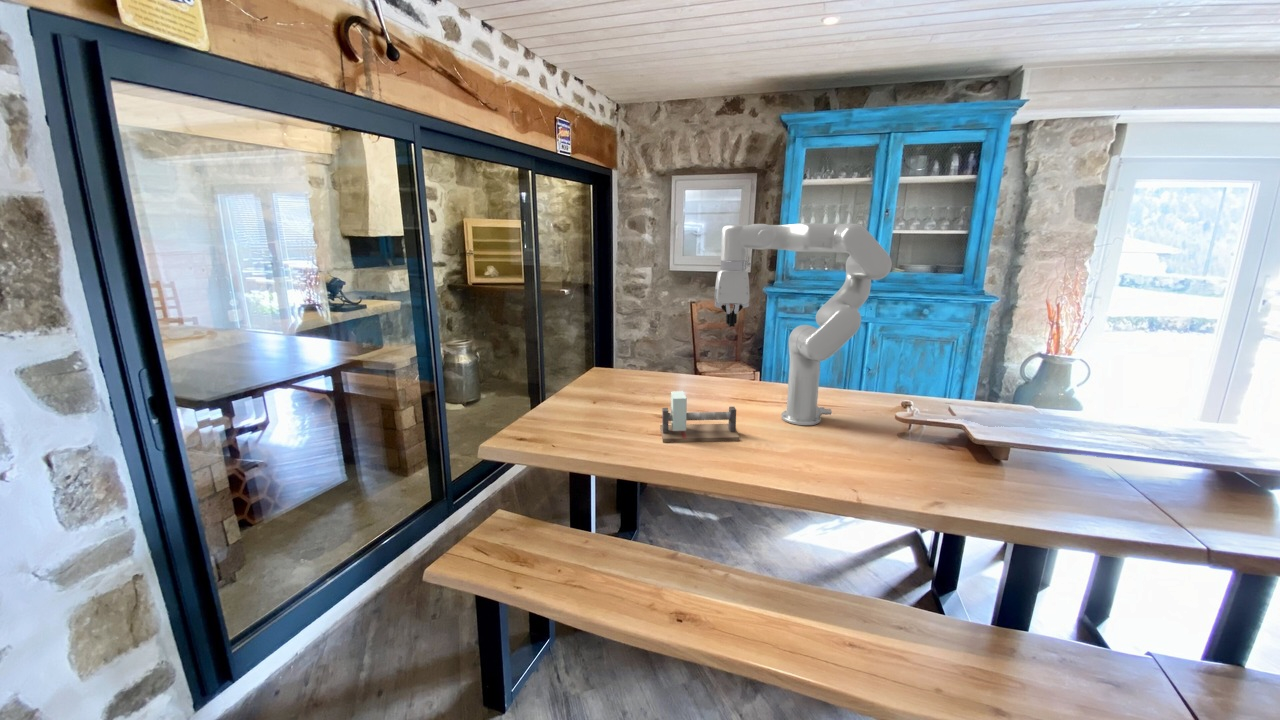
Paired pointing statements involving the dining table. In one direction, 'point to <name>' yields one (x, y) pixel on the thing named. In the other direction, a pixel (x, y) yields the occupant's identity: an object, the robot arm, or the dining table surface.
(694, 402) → the dining table surface
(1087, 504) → the dining table surface
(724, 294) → the robot arm
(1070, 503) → the dining table surface
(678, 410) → the sleeve block
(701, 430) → the rod stand
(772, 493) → the dining table surface
